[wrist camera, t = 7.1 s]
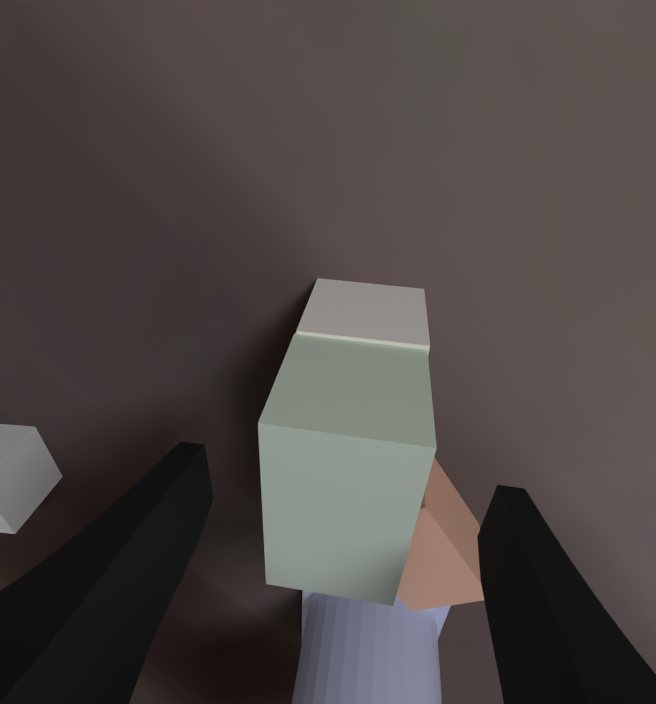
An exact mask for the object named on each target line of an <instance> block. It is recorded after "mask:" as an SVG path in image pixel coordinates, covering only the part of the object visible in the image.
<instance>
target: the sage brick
mask: <svg viewBox="0 0 656 704" xmlns="http://www.w3.org/2000/svg"><path fill="white" fill-rule="evenodd" d="M258 435H259V455H260V475H261V494H262V514H263V533H264V553H265V572H266V584H269V585H275V586H281V587H287V588H292V589H298V590H304V591H310V592H315V593H321V594H327V595H333V596H338V597H344V598H350V599H356V600H361V601H367V602H373V603H379V604H384V605H390V606H393V605H394V602H395V598H396V594H397V591H398V587H399V583H400V580H401V576H402V573H403V569H404V565H405V562H406V558H407V554H408V551H409V547H410V543H411V540H412V536H413V532H414V529H415V525H416V521H417V518H418V514H419V510H420V507H421V503H422V499H423V496H424V492H425V488H426V485H427V481H428V478H429V474H430V470H431V467H432V463H433V459H434V456H435V452H436V437H435V427H434V416H433V405H432V395H431V384H430V373H429V363H428V352H427V349H419V348H411V347H402V346H394V345H386V344H377V343H369V342H361V341H353V340H344V339H336V338H328V337H319V336H311V335H303V334H295V333H294V336H293V338H292V340H291V343H290V345H289V348H288V350H287V353H286V355H285V358H284V360H283V363H282V365H281V367H280V370H279V372H278V375H277V377H276V380H275V382H274V385H273V387H272V390H271V392H270V394H269V397H268V399H267V402H266V404H265V407H264V409H263V412H262V414H261V417H260V419H259V422H258Z"/></svg>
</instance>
